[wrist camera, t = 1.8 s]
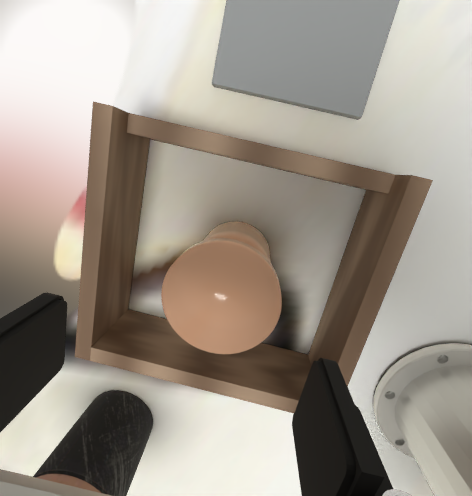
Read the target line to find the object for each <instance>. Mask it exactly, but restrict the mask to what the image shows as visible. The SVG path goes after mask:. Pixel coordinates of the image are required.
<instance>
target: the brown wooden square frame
mask: <svg viewBox="0 0 472 496" xmlns="http://www.w3.org/2000/svg"><path fill="white" fill-rule="evenodd" d="M150 139H152V140H156V141H160V142H164V143H169V144H173V145H177V146H182V147H186V148H190V149H194V150H199V151H203V152H207V153H211V154H216V155H220V156H224V157H229V158H233V159H237V160H241V161H246V162H250V163H254V164H258V165H263V166H267V167H271V168H276V169H280V170H284V171H288V172H293V173H297V174H301V175H305V176H310V177H314V178H318V179H323V180H327V181H331V182H335V183H340V184H344V185H348V186H352V187H357V188H361V189H365V190H366V192H365V195H364V198H363V201H362V204H361V206H360V209H359V212H358V215H357V218H356V221H355V223H354V226H353V229H352V232H351V235H350V238H349V240H348V243H347V246H346V249H345V252H344V255H343V258H342V260H341V263H340V266H339V269H338V272H337V275H336V277H335V280H334V283H333V286H332V289H331V292H330V295H329V297H328V300H327V303H326V306H325V309H324V312H323V314H322V317H321V320H320V323H319V326H318V329H317V332H316V334H315V337H314V340H313V343H312V346H311V349H310V351H309V354H308V355H307V354H303V353H299V352H295V351H291V350H287V349H283V348H279V347H275V346H271V345H267V344H264V343H260V344H258V345H257V346H255V347H253V348H251V349H249V350H246V351H243V352H240V353H234V354H215V353H210V352H207V351H203V350H201V349H198V348H196V347H194V346H192V345H191V344H189V343H188V342H186V341H185V340H184V339H182V338H181V337H180V336H179V335H178V334H177V333H176V332H175V330H174V329H173V328H172V327H171V325H170V323H169V322H168V320H167V319H164V318H160V317H156V316H152V315H148V314H144V313H140V312H137V311H133V310H129V309H128V307H129V299H130V292H131V284H132V276H133V268H134V260H135V253H136V245H137V237H138V229H139V221H140V213H141V206H142V198H143V190H144V182H145V174H146V167H147V159H148V151H149V143H150ZM432 181H433V180H430V179H425V178H421V177H417V176H412V175H394V174H389V173H385V172H381V171H376V170H372V169H368V168H363V167H359V166H355V165H350V164H346V163H342V162H338V161H333V160H329V159H325V158H320V157H316V156H312V155H307V154H303V153H299V152H294V151H290V150H286V149H281V148H277V147H273V146H269V145H264V144H260V143H256V142H251V141H247V140H243V139H238V138H234V137H230V136H225V135H221V134H217V133H212V132H208V131H204V130H199V129H195V128H191V127H187V126H182V125H178V124H174V123H169V122H165V121H161V120H156V119H152V118H148V117H143V116H139V115H135V114H130V113H127V112H125V111H123V110H120V109H118V108H116V107H114V106H110V105H105V104H101V103H97V102H93V111H92V125H91V139H90V153H89V167H88V181H87V195H86V209H85V223H84V237H83V251H82V265H81V279H80V293H79V307H78V321H77V335H76V349H75V357H78V358H82V359H86V360H90V361H93V362H97V363H101V364H105V365H109V366H113V367H117V368H121V369H124V370H128V371H132V372H136V373H140V374H144V375H148V376H152V377H155V378H159V379H163V380H167V381H171V382H175V383H179V384H183V385H186V386H190V387H194V388H198V389H202V390H206V391H210V392H213V393H217V394H221V395H225V396H229V397H233V398H237V399H241V400H244V401H248V402H252V403H256V404H260V405H264V406H268V407H272V408H275V409H279V410H283V411H287V412H291V413H294V412H295V410H296V407H297V404H298V401H299V399H300V396H301V393H302V391H303V388H304V385H305V382H306V380H307V377H308V374H309V371H310V369H311V366H312V363H313V361H318V360H319V358H325V359H329V360H333V361H336V362H337V363H338V366H339V368H340V370H341V373H342V375H343V378H344V380H345V383H346V385H347V386H348V384H349V381H350V379H351V376H352V374H353V372H354V369H355V367H356V364H357V362H358V360H359V357H360V355H361V352H362V350H363V347H364V345H365V343H366V340H367V338H368V335H369V333H370V331H371V328H372V326H373V323H374V321H375V318H376V316H377V314H378V311H379V309H380V306H381V304H382V302H383V299H384V297H385V294H386V292H387V289H388V287H389V285H390V282H391V280H392V277H393V275H394V273H395V270H396V268H397V265H398V263H399V261H400V258H401V256H402V253H403V251H404V248H405V246H406V244H407V241H408V239H409V236H410V234H411V232H412V229H413V227H414V224H415V222H416V219H417V217H418V215H419V212H420V210H421V207H422V205H423V203H424V200H425V198H426V195H427V193H428V191H429V188H430V186H431V183H432Z"/></svg>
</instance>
